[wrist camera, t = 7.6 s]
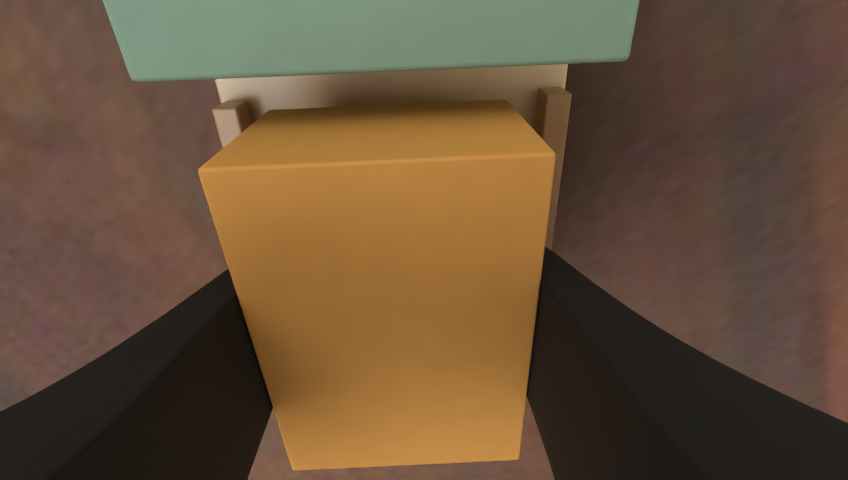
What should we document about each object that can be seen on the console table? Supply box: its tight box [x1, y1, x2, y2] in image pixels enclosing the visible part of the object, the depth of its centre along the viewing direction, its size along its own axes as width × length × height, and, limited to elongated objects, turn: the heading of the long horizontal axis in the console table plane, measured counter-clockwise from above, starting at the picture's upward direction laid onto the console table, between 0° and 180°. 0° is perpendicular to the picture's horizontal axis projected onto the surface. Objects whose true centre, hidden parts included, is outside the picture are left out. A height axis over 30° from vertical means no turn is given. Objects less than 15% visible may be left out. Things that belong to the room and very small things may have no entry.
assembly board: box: [212, 64, 572, 250], centre depth 11 cm, size 17×8×2 cm, turn 2°
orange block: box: [198, 100, 556, 471], centre depth 9 cm, size 7×5×4 cm
